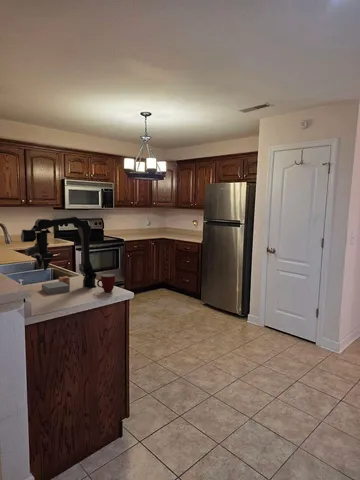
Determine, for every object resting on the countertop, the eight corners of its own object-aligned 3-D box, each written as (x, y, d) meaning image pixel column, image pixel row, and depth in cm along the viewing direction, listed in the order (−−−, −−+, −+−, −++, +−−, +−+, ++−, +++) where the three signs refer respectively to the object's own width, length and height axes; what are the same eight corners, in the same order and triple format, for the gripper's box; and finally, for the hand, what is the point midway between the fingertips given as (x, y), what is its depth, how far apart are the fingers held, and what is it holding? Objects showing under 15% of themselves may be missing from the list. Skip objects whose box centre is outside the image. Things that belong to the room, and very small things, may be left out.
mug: (96, 293, 183) (96, 277, 181) (97, 290, 190) (97, 274, 189) (115, 293, 185) (115, 276, 184) (114, 289, 193) (115, 273, 192)
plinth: (61, 286, 195) (61, 281, 195) (69, 291, 186) (69, 285, 186) (41, 289, 187) (41, 284, 187) (48, 294, 178) (48, 288, 178)
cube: (66, 283, 204) (66, 276, 203) (69, 285, 200) (69, 277, 199) (58, 284, 200) (58, 277, 200) (61, 286, 196) (61, 278, 196)
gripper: (21, 240, 177) (22, 267, 179) (31, 244, 163) (32, 273, 165) (42, 239, 185) (42, 265, 186) (53, 242, 171) (53, 271, 172)
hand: (42, 268), depth 177 cm, fingers open, 9 cm apart
